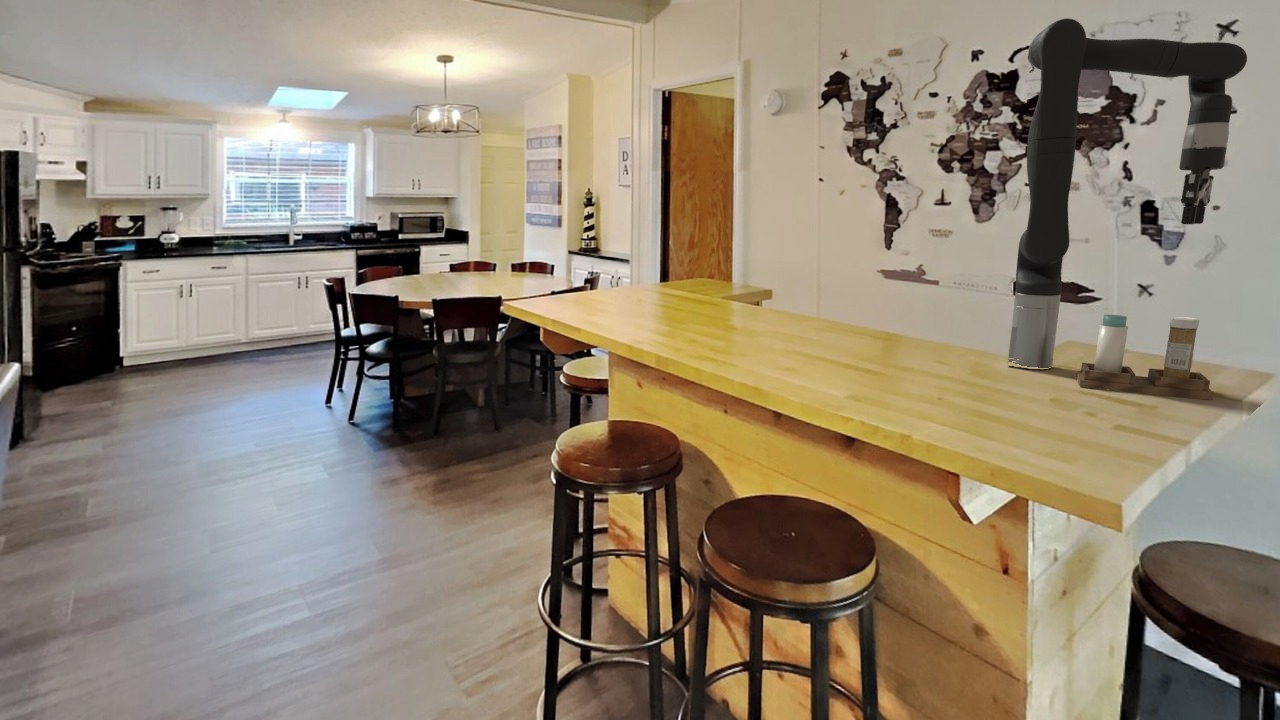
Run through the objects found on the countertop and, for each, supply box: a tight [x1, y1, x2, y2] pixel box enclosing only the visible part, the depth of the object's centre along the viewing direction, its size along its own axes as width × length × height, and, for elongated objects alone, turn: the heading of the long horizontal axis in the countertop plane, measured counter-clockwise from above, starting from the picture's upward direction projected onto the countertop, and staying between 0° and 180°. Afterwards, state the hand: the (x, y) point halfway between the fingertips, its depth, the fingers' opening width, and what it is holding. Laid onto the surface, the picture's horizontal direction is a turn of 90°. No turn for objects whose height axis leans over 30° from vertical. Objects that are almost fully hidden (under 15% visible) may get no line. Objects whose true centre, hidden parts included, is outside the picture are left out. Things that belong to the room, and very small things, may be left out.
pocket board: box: [1075, 362, 1214, 401], centre depth 145 cm, size 22×10×4 cm, turn 62°
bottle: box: [1094, 314, 1129, 373], centre depth 147 cm, size 5×5×13 cm
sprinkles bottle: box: [1163, 316, 1200, 379], centre depth 141 cm, size 5×5×14 cm
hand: (1192, 224), depth 153 cm, fingers open, 8 cm apart
